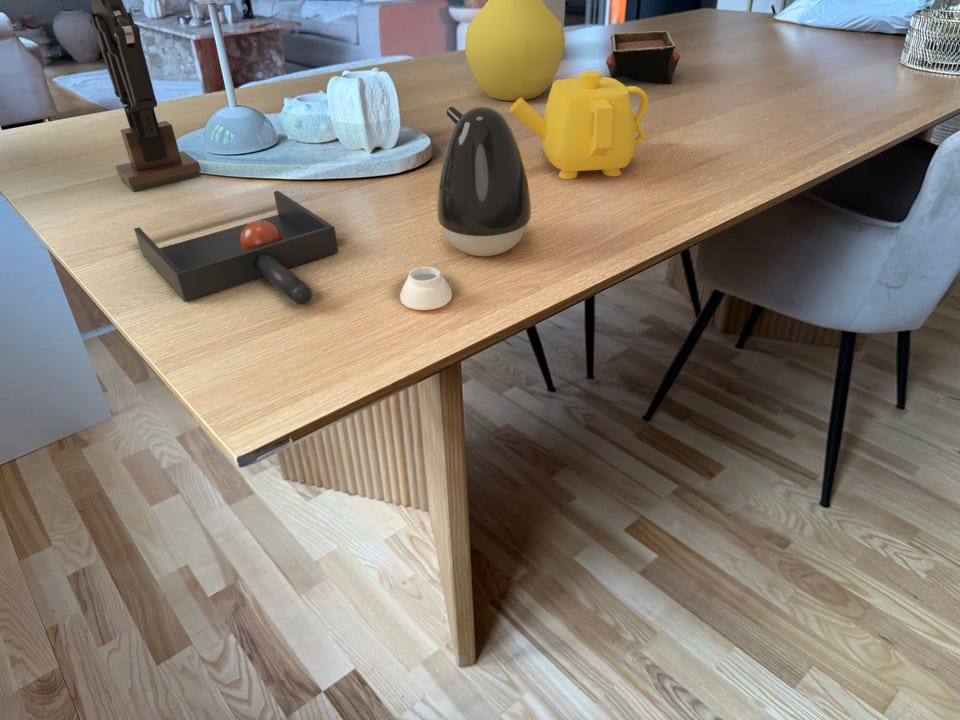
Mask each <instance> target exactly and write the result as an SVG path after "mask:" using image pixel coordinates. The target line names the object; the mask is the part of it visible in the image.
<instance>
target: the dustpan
mask: <svg viewBox="0 0 960 720" xmlns="http://www.w3.org/2000/svg"><path fill="white" fill-rule="evenodd" d="M273 196H274V202H275V206H276V210H277V214H276V215H271V216H269V217H265V218H260V220H265V221H268V222H270V223H272V224H274V225H275V226H276V227H277V228H278V229H279V231H280V233H281V235H282V240H281V241H278V242H275V243H271V244H268V245H265V246H262V247H258V248H255V249H252V250H248V251H245V252H244V251H243V249H242V247H241V243H240V236H241V232H242V230H243V229H244V227H245V226H246V225H247V224H249V223H251V222H252V221H251V222H247V223H244V224H239V225H237V226H233V227H230V228H226V229H223V230H219V231H215V232H211V233H209V234H205V235H201V236H197V237H194V238H190V239H187V240H183V241H180V242H177V243H173V244H169V245H165V246H162V247H159V246H158V245H157V244H156V243H155V242H154V241H153V239H151V238H150V237H149V236H148V235H147V234H146V232H145V231H143V229H142V228H141V227H135V228H134V229H133V230H134V233H135V236H136V240H137V242H138V246H139V248H140V251H141V255H142V256H143V257H144V258H145V259H146V261H147V262H148V263H149V264H150V265H151V267H153V268H154V269H155V270H156V272H157V273H158V274H159V275H160V276H161V277H162V278H163V280H164V281H165V282H166V283H167V284H168V285H169V286H170V287H171V289H172V290H173V291H174V292H175V294H177V296H179V298H180V299H181V300H182V301H184V302H187V301H190V300H193V299H197V298H199V297H202V296H205V295H209V294H212V293H215V292H218V291H221V290H224V289H227V288H230V287H233V286H237V285H239V284H243V283H245V282H248V281H252V280H255V279H257V278H261V277H265V278H266V279H267V280H268V281H269V282H270V283H272V284H273V285H274V286H275V287H276V288H278V289H279V290H280V291H281V292H283V293H284V294H285V295H286V297H288V298H289V299H291V300H292V301H293V302H294V303H295V304H297V305H306V304H308V303H310V301H311V300H312V298H313V290H312V288H311V287H310V286H309V285H308V284H306V283H305V282H304V281H303V280H302V279H300V278H299V277H298V276H297V275H296V274H294V273H293V272H292V271H290V270H289V269H288V268H292V267H294V266H298V265H301V264H304V263H308V262H310V261H314V260H316V259H320V258H322V257H326V256H328V255H331V254H335V253H337V252H339V247H338V242H337V236H336V228H335V226H334V225H332V224H331V223H330V222H328V221H326V219H323V218H322V217H320V216H318V215H317V214H316V213H314V212H313V211H311V210H310V209H307V208H306V207H304V206H302V205H301V204H300V203H298V202H297V201H295V200H293V199H292V198H290V197H289V196H287V195H286V194H284V193H283V192H281V191H279V190H274V191H273Z"/></svg>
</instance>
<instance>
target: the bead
mask: <svg viewBox="0 0 960 720" xmlns="http://www.w3.org/2000/svg"><path fill="white" fill-rule="evenodd" d="M248 223H249V224H247V223H246V224H247V225H246V226H245V227H244V229H243V230H242V232H241V236H240V243H241V247H242V249H243V251H244V252H245V251H248V250H252V249H255V248H258V247H262V246H265V245H268V244H271V243H275V242H278V241H281V240H282V235H281V233H280V231H279V229H278V228H277V227H276V226H275V225H274V224H272V223H270V222H268V221H265V220H261V219H257V220H253V221H251V223H250V222H248Z"/></svg>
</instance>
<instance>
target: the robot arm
mask: <svg viewBox="0 0 960 720" xmlns="http://www.w3.org/2000/svg"><path fill="white" fill-rule="evenodd" d="M89 1H90V4H91V5H90V6H91V10H92V12H93V13H90V14H89V17H88V18H89V19H88V20H89V24H91V27H92V29H93V32H94V34H95V36H96V40H97V43H98V45H99V48H100V52H101V54H102V58H103V60H104V63H105V67H106V69H107V72H108V75H109V78H110V81H111V84H112V87H113V90H114V94H115V96H116V97H117V98H119V102H120V103H121V104H122V106H123V110H124V112H125V117H126V119H127V123H128V126H129V128H132V127H135V128H136V131H137V134H138V138H139V141H140V144H141V147H142V151H143V154H144V157H145V160H146V162H147V163H148V162H152V161H157V160H161V159H166V158H168V157H167V153H166V150H165V146H164V143H163V139H162V136H161V133H160V129H159V126H158V122H159V121H158V119H157V115H156V112H155V108H156V107H158V101H157V98H156V96H155V90H154V87H153V84H152V83H153V82H152V79H151V76H150V72H149V67H148V64H147V60H146V56H145V52H144V49H143V43H142V36H141V29H140V27H139V26H138V24H137V23H135V21H134V19H133V14H132V13H131V12H129V11H127V9H126V6H125V4H124V1H123V0H89Z"/></svg>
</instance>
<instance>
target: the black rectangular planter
mask: <svg viewBox="0 0 960 720" xmlns="http://www.w3.org/2000/svg"><path fill="white" fill-rule="evenodd" d="M610 42H611V48H612V52H611V54H609V55H608V56H607V58H606V60H605V64H606V65H607V66H606V67H607V68H608V71H609V76H610V78H613V79H615V80H617V79H621V78H629V79H634V80H639V81H642V82H649V83H653V84H658V85H659V84H661V85H663V84H665V85H672V84H673V77H674V74H675V71H676V68H677V65H678V63H679V60H680V58H681V54H680V53H678V52H676V51H675V48H676V46H677V44H676V42H675V41H674V40H673V37H672V35H671V32H669V31H667V30H653V31H651V30H650V31H627V32H616V33H612V34H611V35H610Z"/></svg>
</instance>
